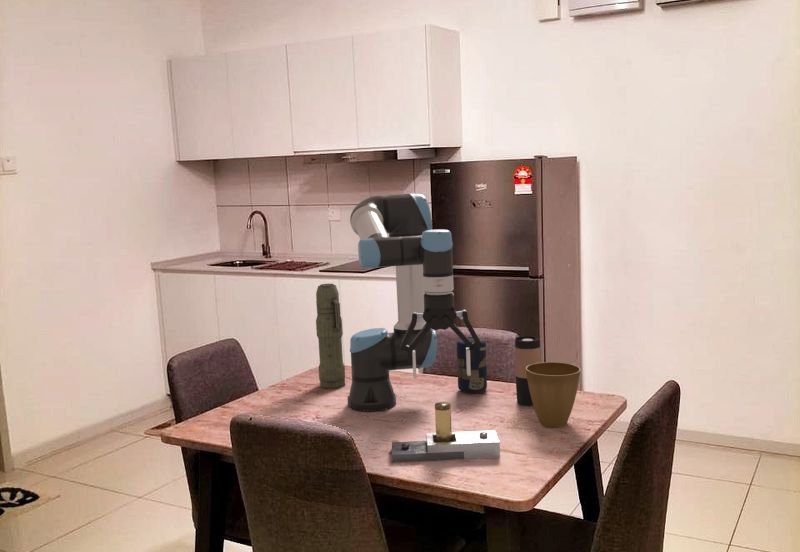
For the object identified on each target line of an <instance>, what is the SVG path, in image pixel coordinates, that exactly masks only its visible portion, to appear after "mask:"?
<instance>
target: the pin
mask: <svg viewBox="0 0 800 552" xmlns="http://www.w3.org/2000/svg"><path fill="white" fill-rule="evenodd" d="M451 407H452V406H451V403H450V402H449V401H440V402H439V401H438V402H436V403H434V415H435V418H434V419H435V433H436V443H441V442H452V432H453V431H452V408H451Z"/></svg>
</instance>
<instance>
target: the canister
mask: <svg viewBox="0 0 800 552" xmlns="http://www.w3.org/2000/svg"><path fill="white" fill-rule="evenodd" d="M466 337H467V338H468V339H469V340H470V341H471V342H472V343H473V342H475V341H474V339H473V337H472V336H466ZM478 338H479V340H480V342H481V346H480V347H476V348H475V350H474V356H475V360H474V362H470V368H471V376H468V375H467V365H466V348H469V347H468V346H467V345H466V344H465V343H464V342H463V341H462V340H461V338H459V339H458V340H457V341H456V366H457V388H458V390H459V391H460V392H462V393H467V394H479V393H483V392H484V391H486V390H487V388H488V365H487V364H488V363H487V341H486V340H485V339H483V338H480V337H478Z"/></svg>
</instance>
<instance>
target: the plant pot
mask: <svg viewBox="0 0 800 552" xmlns="http://www.w3.org/2000/svg"><path fill="white" fill-rule="evenodd" d="M581 371H582V370H581V368H580V367H579V366H578V365H575V364H572V363H566V362H558V361H557V362H556V361H546V362H545V361H544V362H543V361H542V362H541V363H535V364H531V365H528V366H527V367H526V374H527V381H528V386H529V391H530V395H531V399H532V402H533V406H532V407H533V408H534V411H535V414H536V417H537V419H538V422H539V423H538V424H539V425H541V426H542V427H546V428H550V429H551V428H553V429H556V428H557V429H558V428H563V427H565V426H567V424H568V421H569V419H570V416H571V415H572V410H573V407H574V405H575V402H576V401H575V400H576V398H577V392H578V390H579V389H578V387H579V382H580V376H581Z"/></svg>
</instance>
